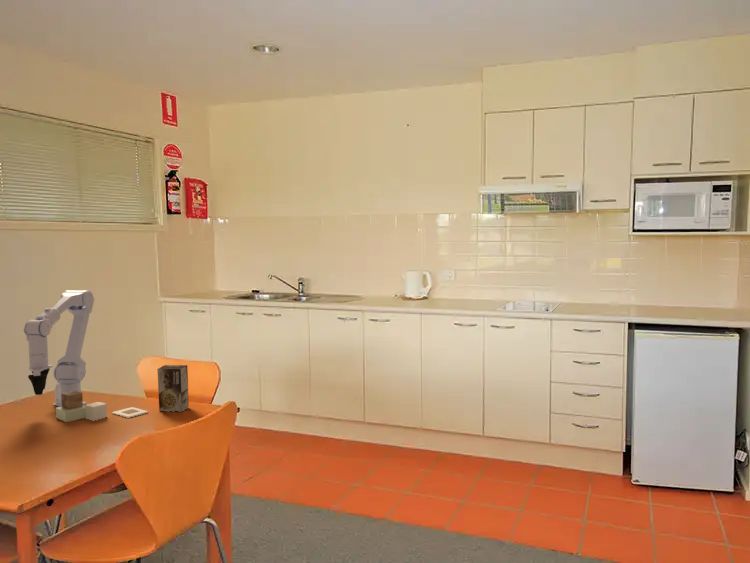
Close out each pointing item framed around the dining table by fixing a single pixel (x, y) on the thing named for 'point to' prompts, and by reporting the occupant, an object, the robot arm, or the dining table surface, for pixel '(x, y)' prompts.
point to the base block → (70, 413)
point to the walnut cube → (72, 400)
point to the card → (130, 412)
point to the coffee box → (173, 388)
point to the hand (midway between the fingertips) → (40, 391)
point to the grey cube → (96, 411)
